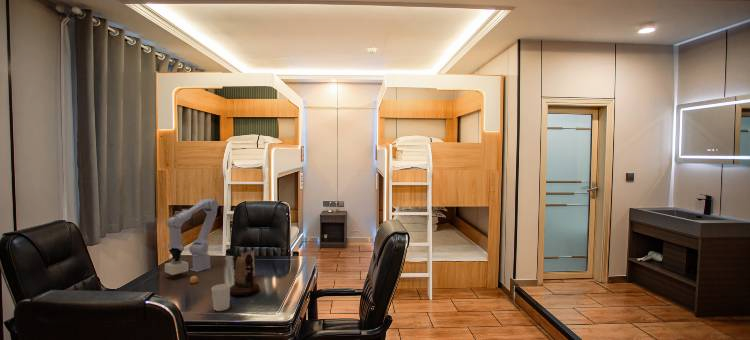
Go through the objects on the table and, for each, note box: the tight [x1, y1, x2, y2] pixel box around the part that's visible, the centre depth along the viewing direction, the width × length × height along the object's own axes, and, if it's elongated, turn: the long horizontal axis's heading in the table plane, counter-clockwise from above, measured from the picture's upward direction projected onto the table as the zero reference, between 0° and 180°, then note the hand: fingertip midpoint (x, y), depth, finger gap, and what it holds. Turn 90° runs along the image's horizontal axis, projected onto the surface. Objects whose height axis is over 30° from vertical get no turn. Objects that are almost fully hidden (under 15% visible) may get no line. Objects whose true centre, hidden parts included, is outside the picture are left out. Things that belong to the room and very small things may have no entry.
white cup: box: [211, 283, 231, 312], centre depth 172 cm, size 8×8×10 cm
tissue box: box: [164, 256, 189, 276], centre depth 217 cm, size 9×9×8 cm
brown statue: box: [230, 252, 260, 298], centre depth 191 cm, size 15×15×20 cm
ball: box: [189, 275, 199, 284], centre depth 206 cm, size 4×4×4 cm
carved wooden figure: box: [240, 250, 256, 277], centre depth 211 cm, size 11×7×15 cm, turn 149°
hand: (176, 260), depth 216 cm, fingers closed on tissue box
